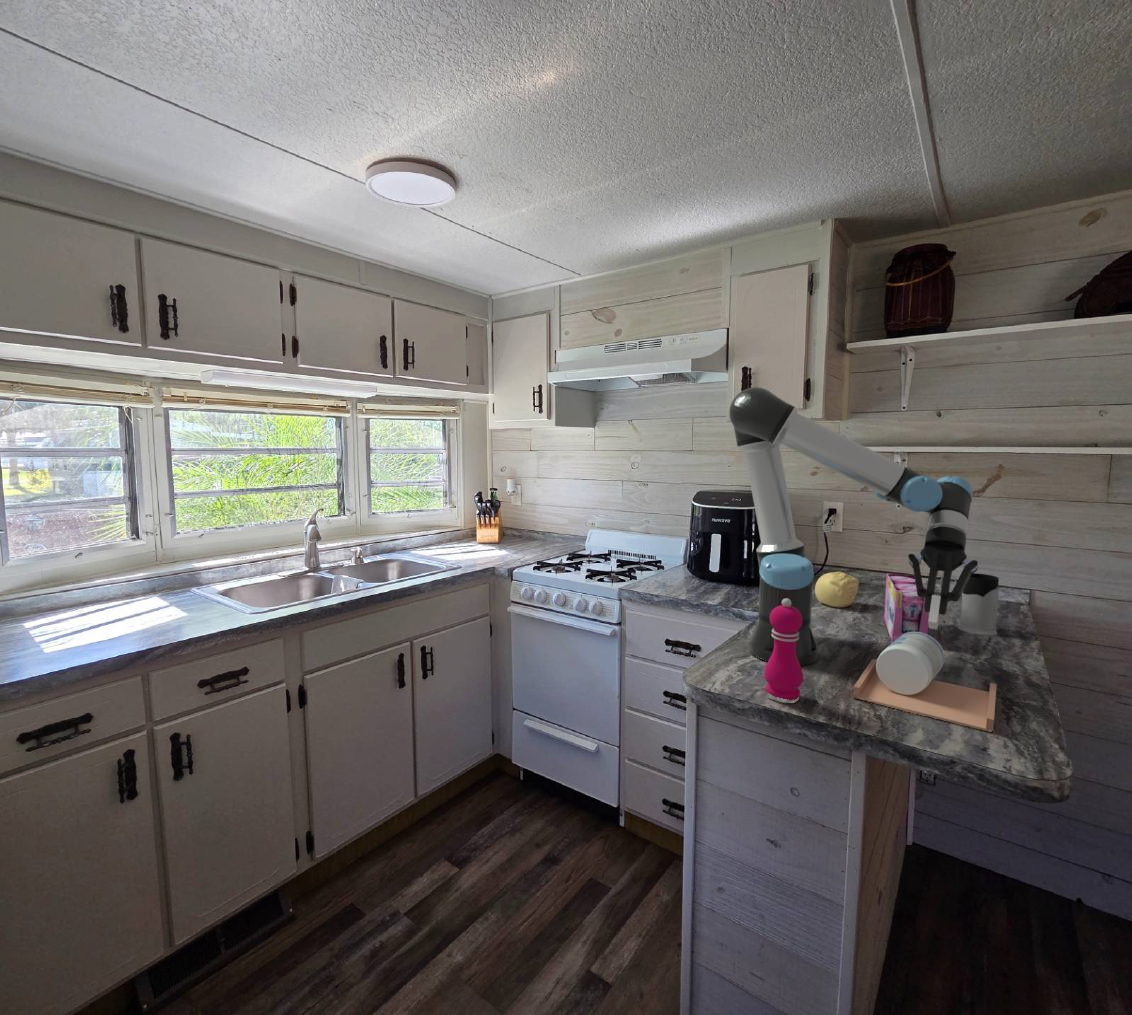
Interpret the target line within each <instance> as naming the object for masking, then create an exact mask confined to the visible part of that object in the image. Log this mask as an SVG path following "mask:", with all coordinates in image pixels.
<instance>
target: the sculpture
mask: <svg viewBox="0 0 1132 1015" xmlns="http://www.w3.org/2000/svg"><path fill="white" fill-rule="evenodd" d="M859 584H860V582H859V580H858V579H857V578H855V577H854V576H852V575H850V574H847V573H846V572H842V571H836V572H834V571H833V572H827V573H825V574H822V575H821V576H820V577H819V578H818V580H817V581H816V583H815V587H814V593H815V597H816V599H817V600H818V602H820V603H822V604H825V605H826V606H830V607H832V608H834V607H835V608H847V607H849V606H851V605H852V604H853V603H854V601H855V597H856V595H857V593H858V591H859Z"/></svg>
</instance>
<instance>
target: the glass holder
mask: <svg viewBox="0 0 1132 1015" xmlns="http://www.w3.org/2000/svg"><path fill="white" fill-rule="evenodd" d="M951 579H953V580H954V582H955V584H956V583H957V581H958V579H957V578H956V577H955V576H954V575H953V576H951ZM999 579H1000V577H999V576H995V575H991V574H985V573H976V572H974V573H973V574H972V575H971V576H970V578H969V580H968V582H967V584H966V586H965V588H964V590H963V592H962V594H961V607H960V612H959V611H958V610H957V609H956V608H955V607H954V606H953V605H952V604H951V603H950V601H949V602H948V603H947V606H948V607H950V609H951V610H953V611H954V613H956V614H957V615H958V617H959V624H958V626H957V629H958V630H960V631H962V632H965V633H969V634H972V635H973V634H974V635H978V636H996V635H998V632H997V628H996V627H997V615H998V602H999V590H1000V588H999V581H1000V580H999ZM942 582H943V576H942V577H941V579H940V581H939V590H940V592H941V589H942Z"/></svg>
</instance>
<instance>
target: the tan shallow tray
mask: <svg viewBox="0 0 1132 1015" xmlns="http://www.w3.org/2000/svg"><path fill="white" fill-rule="evenodd" d="M877 659H878V658H876V659H875V658H872V659H871V661H869V664H868V665H867V666H866V668H865V669H864V670H863V672H862V673H861V675H860V676H859V678H858V680H857V681H856V683H855V684H854V686H853V692H852V693H853V694H852V698H853V697H855V698H859V699H862V700H867V701H868V702H874V703H876V704H881V705H884V706H887V707H886V708H888V707H891V708H890V709H892V708H895V709H894V710H896V709H900V710H903V711H902V712H904V711H905V713H908V712H910V713H909V714H912V713H913V714H912V715H916V714H919V715H918V716H920V715H922V716H921V717H924V716H929V717H932V718H934V720H936V719H941V720H944V721H949V722H953V723H956V724H961V725H964V726H970V727H974V728H977V729H983V730H987V731H993V732H994V724H995V712H996V700H997V699H996V698H997V685H998V684H997V683H992V682H989V691H985V690H981V689H977V688H972V687H967V686H963V685H959V684H953V683H948V682H945V681H939V680H934V679H933V680H932V681H931V682H930V683H929V685H928V686H927V687H926V688H925V689H924V690H922V691H921V692H919V693H916V694H913V695H904V694H899V693H896V692H894V691H892V690H890V689H889V688H888V687H886V686H885V685H884V684H883V683H882V681H881V680H880V678H879V676H878V674H877V671H876V663H877ZM868 702H867V703H868ZM876 704H875V705H876ZM884 706H883V707H884ZM900 710H899V711H900ZM932 718H931V719H932ZM944 721H943V722H944ZM956 724H955V725H956ZM964 726H963V727H964Z"/></svg>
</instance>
